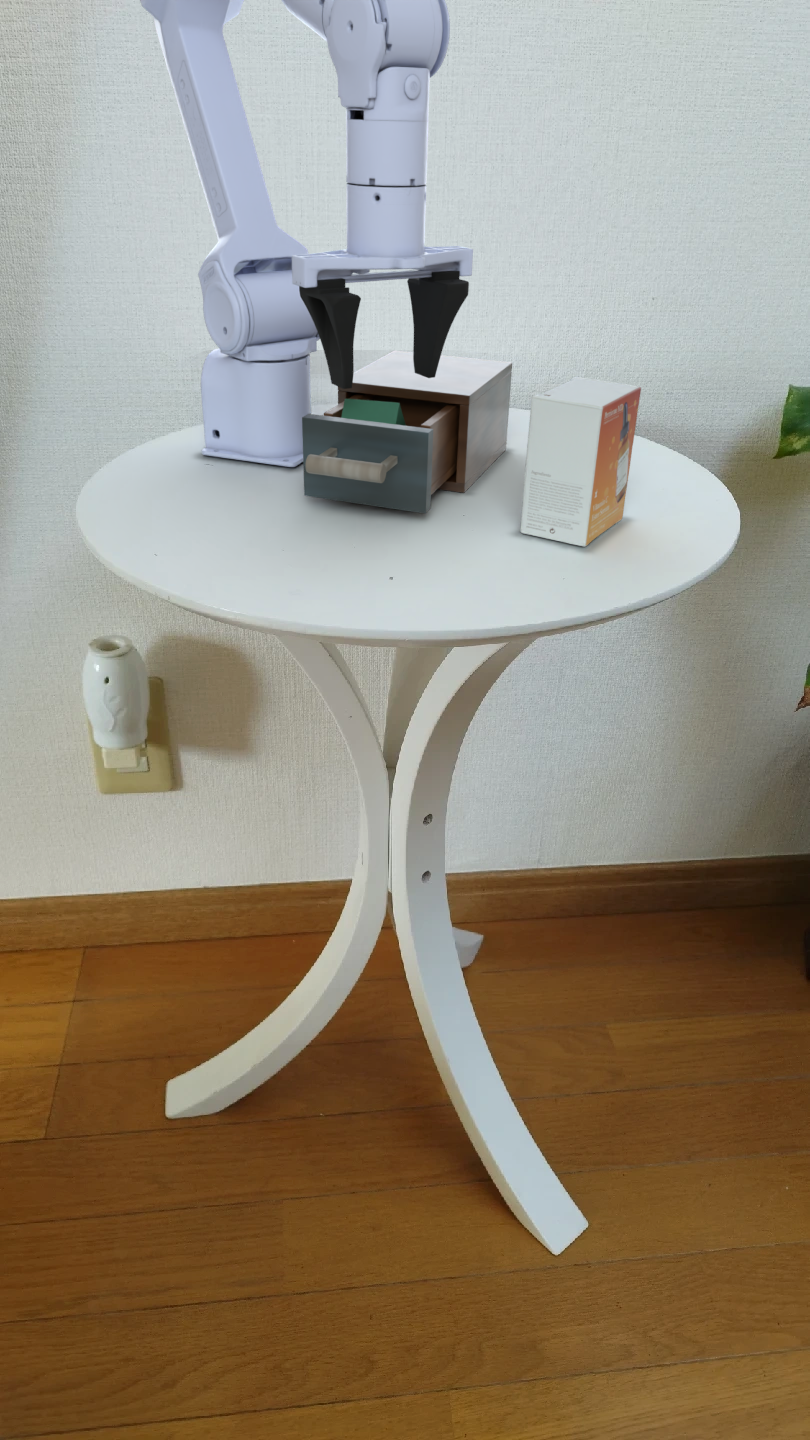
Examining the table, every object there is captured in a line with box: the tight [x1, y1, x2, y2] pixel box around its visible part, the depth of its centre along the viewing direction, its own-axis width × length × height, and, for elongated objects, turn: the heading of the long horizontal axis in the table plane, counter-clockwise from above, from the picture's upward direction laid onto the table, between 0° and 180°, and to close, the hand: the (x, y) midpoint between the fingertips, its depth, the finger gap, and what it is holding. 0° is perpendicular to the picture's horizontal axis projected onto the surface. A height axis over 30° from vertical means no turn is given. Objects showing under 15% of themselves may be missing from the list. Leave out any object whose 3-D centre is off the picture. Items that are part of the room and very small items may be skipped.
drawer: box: [302, 393, 460, 514], centre depth 82 cm, size 17×10×6 cm, turn 160°
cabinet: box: [337, 349, 513, 493], centre depth 91 cm, size 14×12×8 cm
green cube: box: [341, 399, 406, 426], centre depth 82 cm, size 4×4×4 cm
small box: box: [519, 376, 642, 547], centre depth 77 cm, size 8×6×10 cm
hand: (384, 380), depth 79 cm, fingers open, 7 cm apart
